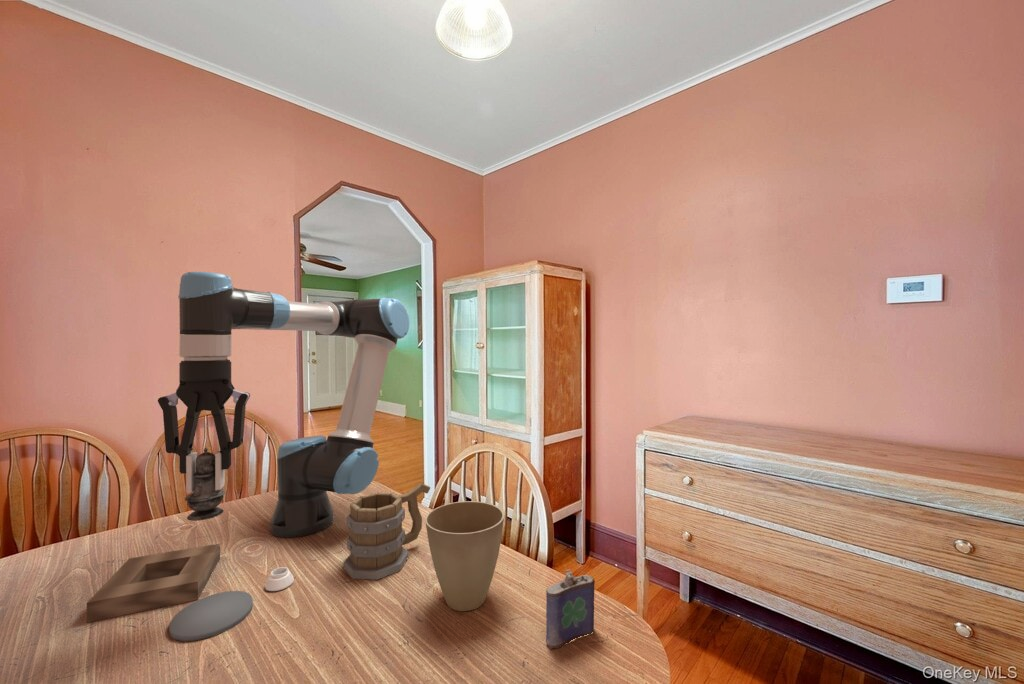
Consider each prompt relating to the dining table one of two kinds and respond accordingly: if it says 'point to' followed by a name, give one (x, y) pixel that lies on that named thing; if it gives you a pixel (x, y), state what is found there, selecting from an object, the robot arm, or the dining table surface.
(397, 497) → the tankard
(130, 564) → the pocket holder
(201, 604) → the slate mat
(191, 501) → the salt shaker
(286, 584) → the white tapered ring
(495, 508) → the plant pot
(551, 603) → the flask
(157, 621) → the dining table surface
